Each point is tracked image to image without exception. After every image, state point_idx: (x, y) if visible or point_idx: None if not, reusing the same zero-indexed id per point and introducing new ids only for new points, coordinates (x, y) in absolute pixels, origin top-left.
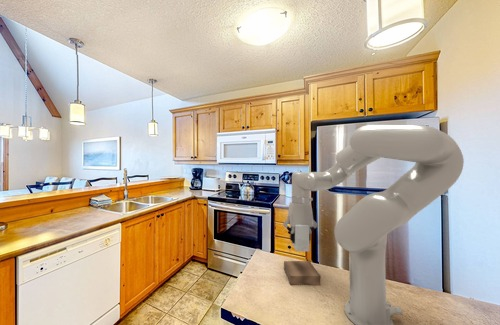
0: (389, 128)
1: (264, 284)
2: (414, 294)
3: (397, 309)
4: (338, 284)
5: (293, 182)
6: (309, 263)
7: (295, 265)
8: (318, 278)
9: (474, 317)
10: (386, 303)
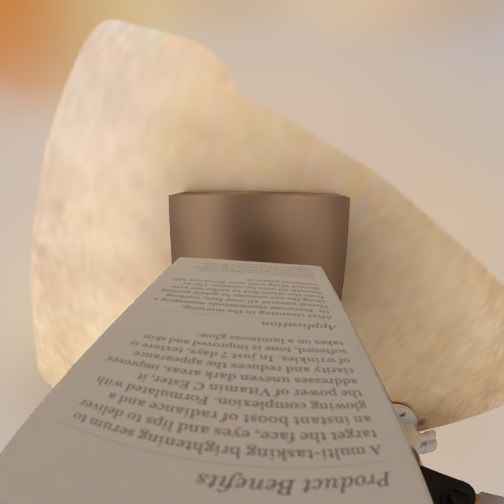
0: None
1: (95, 311)
2: None
3: (426, 452)
4: (400, 325)
5: None
6: (335, 231)
7: (231, 254)
8: None
9: None
10: (425, 441)
